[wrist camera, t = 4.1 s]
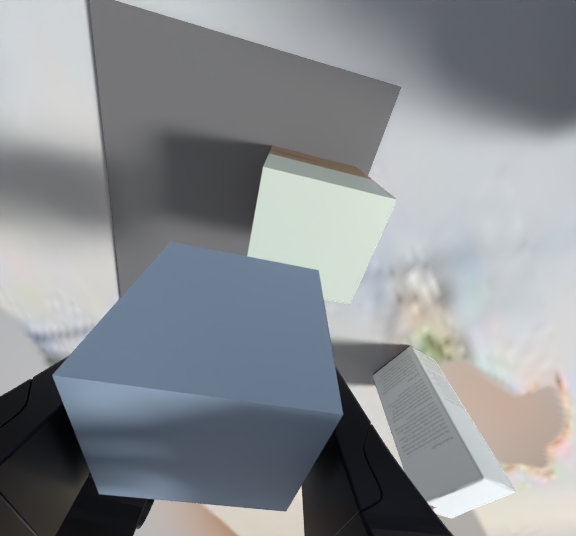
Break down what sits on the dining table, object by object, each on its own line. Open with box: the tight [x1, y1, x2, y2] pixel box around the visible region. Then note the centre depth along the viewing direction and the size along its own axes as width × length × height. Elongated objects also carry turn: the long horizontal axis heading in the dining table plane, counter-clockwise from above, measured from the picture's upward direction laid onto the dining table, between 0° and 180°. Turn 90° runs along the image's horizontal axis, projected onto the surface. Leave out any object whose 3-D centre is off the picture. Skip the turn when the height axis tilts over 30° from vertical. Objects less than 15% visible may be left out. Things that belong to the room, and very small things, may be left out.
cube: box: [52, 242, 343, 511], centre depth 8 cm, size 5×5×5 cm
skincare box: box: [373, 346, 516, 518], centre depth 25 cm, size 6×4×12 cm
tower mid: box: [247, 154, 397, 305], centre depth 14 cm, size 6×6×4 cm
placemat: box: [89, 0, 401, 297], centre depth 21 cm, size 24×18×1 cm
